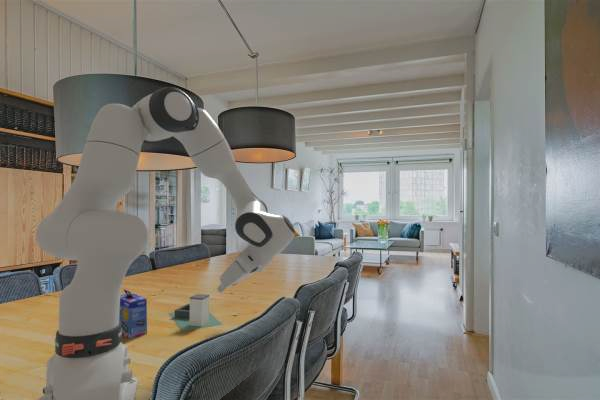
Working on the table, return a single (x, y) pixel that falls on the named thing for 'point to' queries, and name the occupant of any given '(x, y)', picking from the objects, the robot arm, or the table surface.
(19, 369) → the table surface
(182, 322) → the board
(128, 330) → the ink cartridge box
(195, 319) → the plug
